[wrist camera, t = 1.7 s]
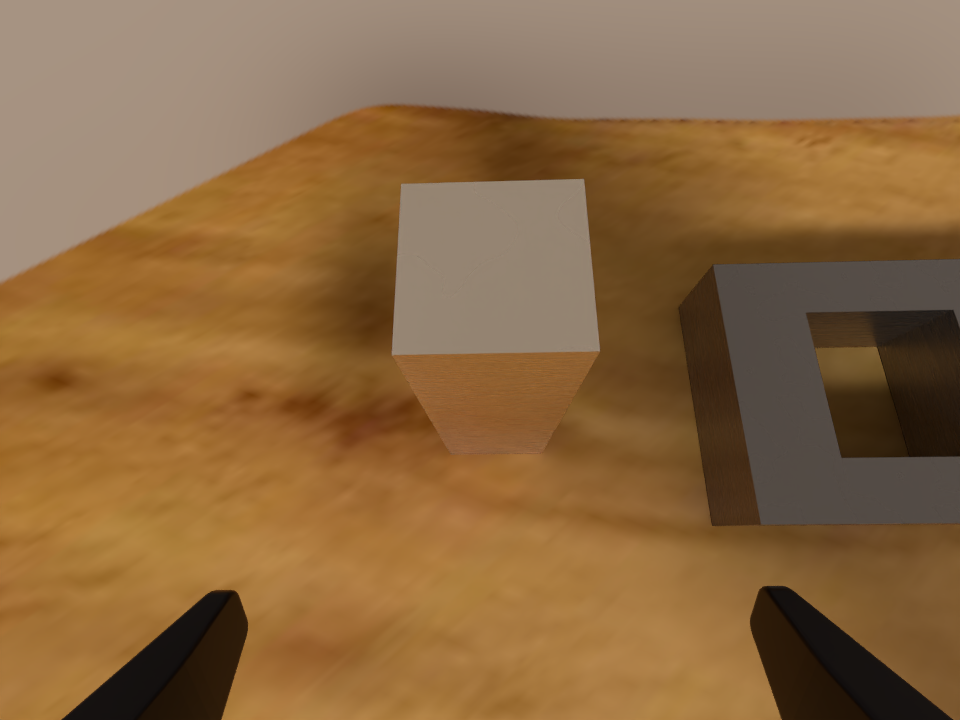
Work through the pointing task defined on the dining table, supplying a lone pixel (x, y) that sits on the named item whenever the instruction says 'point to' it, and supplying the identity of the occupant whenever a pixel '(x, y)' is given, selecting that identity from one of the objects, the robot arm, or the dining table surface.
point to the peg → (495, 308)
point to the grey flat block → (801, 395)
